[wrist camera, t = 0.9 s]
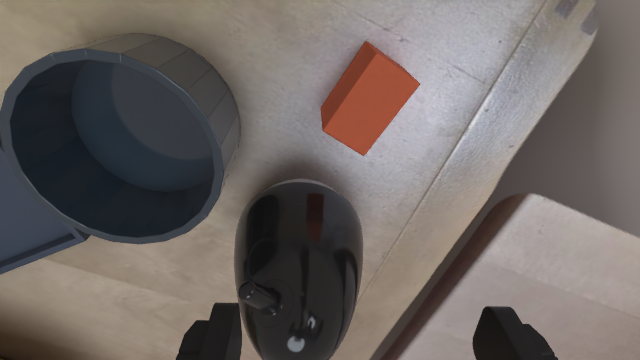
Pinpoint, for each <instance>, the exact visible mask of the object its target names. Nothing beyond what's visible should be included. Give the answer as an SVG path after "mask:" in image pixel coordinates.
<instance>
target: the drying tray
mask: <svg viewBox="0 0 640 360" xmlns="http://www.w3.org/2000/svg"><path fill="white" fill-rule="evenodd" d="M89 236H90V234H86V233H84V232H82V231H80V230H78V229H76V228H74V227H73V226H71V225H69V224H67V223H65V222H63V221H62V220H60V219H58V218H56V217H55V216H54V215H53V214H52V213H50V212H49V211H48V210H47V209H46V208H44V207H43V206H42V205H41V204H40V203H38V202H37V201H36V200H35V199H34V198H33V197H32V196H31V195H30V193H29V192H28V191H27V190H26V188H25V187H24V186H23V184H22V183H21V182H20V181H19V179H18V178H17V177H16V175H15V173H14V172H13V170H12V167H11V165H10V163H9V160H8V158H7V156H6V154H5V151H4V149H3V146H2V140H1V131H0V274H2V273H5V272H8V271H10V270H13V269H15V268H18V267H20V266H23V265H25V264H28V263H30V262H33V261H36V260H38V259H41V258H43V257H46V256H48V255H51V254H53V253H56V252H58V251H61V250H63V249H66V248H69V247H71V246H74V245H76V244H79V243H81V242H84V241H86V240H87V239H88V238H89Z"/></svg>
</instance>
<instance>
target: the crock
mask: <svg viewBox="0 0 640 360" xmlns="http://www.w3.org/2000/svg"><path fill="white" fill-rule="evenodd" d="M240 130H241V126H240V117H239V112H238V109H237V105H236V102H235V100H234V97H233V95H232V93H231V91H230V89H229V87H228V86H227V84H226V83H225V81H224V80H223V78H222V77H221V75H220V74H219V73H218V72H217V71H216V70H215V69H214V68H213V66H212V65H211V64H210V63H208V62H207V61H206V60H205V59H204V58H203V57H202V56H200V55H199V54H197V53H196V52H194V51H193V50H191V49H190V48H188V47H186V46H184V45H182V44H180V43H178V42H176V41H173V40H171V39H168V38H165V37H161V36H157V35H152V34H144V33H129V34H123V35H117V36H111V37H106V38H103V39H99V40H95V41H92V42H88V43H85V44H81V45H78V46H74V47H71V48H67V49H64V50H60V51H57V52H53V53H50V54H48V55H46V56H45V57H43V58H41V59H39V60H37V61H35V62H33V63H32V64H30V65H28V66H26V67H25V68H23V70H22V71H21V72H20V73H19V75H18V76H17V77H16V78H15V80H14V81H13V82H12V83H11V85H10V86H9V87H8V88H7V90H6V92H5V96H4V100H3V103H2V107H1V111H0V131H1V140H2V146H3V149H4V151H5V154H6V156H7V158H8V160H9V163H10V165H11V167H12V170H13V172H14V173H15V175H16V177H17V178H18V179H19V181H20V182H21V183H22V184H23V186H24V187H25V188H26V190H27V191H28V192H29V193H30V195H31V196H32V197H33V198H34V199H35V200H36V201H37V202H38V203H40V204H41V205H42V206H43V207H44V208H46V209H47V210H48V211H49V212H50V213H52V214H53V215H54V216H55V217H56V218H58V219H60V220H62V221H63V222H65V223H67V224H69V225H71V226H73V227H74V228H76V229H78V230H80V231H82V232H84V233H86V234H90V235H93V236H96V237H99V238H102V239H105V240H109V241H113V242H121V243H131V244H147V243H155V242H163V241H167V240H170V239H172V238H175V237H177V236H180V235H182V234H185V233H187V232H189V231H190V230H192V229H193V228H194V227H195V226H197V225H198V224H199V223H200V222H201V221H203V220H204V219H205V218H206V217H207V216H208V215H209V213H210V211H211V210H212V208H213V206H214V205H215V203H216V202H217V200H218V198H219V196H220V194H221V191H222V189H223V186H224V184H225V182H226V179H227V177H228V174H229V172H230V169H231V167H232V165H233V162H234V160H235V157H236V154H237V150H238V147H239V141H240Z"/></svg>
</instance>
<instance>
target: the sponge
mask: <svg viewBox="0 0 640 360" xmlns="http://www.w3.org/2000/svg"><path fill="white" fill-rule="evenodd" d="M419 85H420V83H419V82H418V81H417V80H416V79H415V78H414V77H412V76H411V75H410V74H409V73H408V72H407V71H406V70H405V69H404V68H403V67H402V66H400V65H399V64H397V63H396V62H395V61H393V60H392V59H391V58H389V57H388V56H386V55H385V54H384V53H382V52H381V51H379V50H378V49H377V48H375V47H374V46H373V45H371V44H370V43H368V42H367V41H366V42H365V43H364V44H363V46H362V47H361V49H360V50H359V52H358V53H357V55H356V56H355V58H354V59H353V61H352V62H351V64H350V65H349V67H348V68H347V69H346V71H345V72H344V74H343V75H342V77H341V78H340V80H339V81H338V83H337V84H336V86H335V87H334V89H333V90H332V92H331V93H330V95H329V96H328V98H327V99H326V101H325V102H324V104H323V105H322V106H321V118H322V129H323V131H324V132H325V133H327V134H329V135H330V136H332V137H333V138H335V139H337V140H338V141H340V142H342V143H343V144H345V145H347V146H348V147H350V148H351V149H353V150H355V151H356V152H358V153H360V154H361V155H363V156H364V155H365V154H366V153H367V152H368V150H369V149H370V148H371V147H372V145H373V144H374V143H375V141H376V140H377V139H378V138H379V136H380V135H381V134H382V132H383V131H384V130H385V129H386V127H387V126H388V125H389V123H390V122H391V121H392V120H393V118H394V117H395V116H396V115H397V113H398V112H399V111H400V109H401V108H402V107H403V106H404V104H405V103H406V102H407V100H408V99H409V98H410V97H411V95H412V94H413V93H414V91H415V90H416V89H417V88H418V86H419Z"/></svg>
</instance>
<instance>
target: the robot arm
mask: <svg viewBox="0 0 640 360" xmlns="http://www.w3.org/2000/svg"><path fill="white" fill-rule="evenodd" d="M241 346H242V330H241V319H240V307H239V303H215V304H214V306H213V309H212V312H211V316H210V319H209V321H207V320H196V321H195V323H194V324H193V325H192V326H191V327H190V329H189V330H188V331H187V332H186V333H185V335H184V337H183V340H182V343H181V346H180V349H179V354H178V355H177V357H176V360H240V355H241ZM473 350H474V354H475V357H476V359H477V360H558V358H557V357H555V356H554V352H553V351H552V349H551V348H550V346H549V345H548V343H547V342H546V340H545V339H544V337H543V336H541V335H540V334H539V333H538V332H537V331H536V330H535V329H534V328H533V327H531V326H530V325H529V324H522V322H521V321H520V319H519V317H518V316H517V314H516V313H515V311H514V310H513V309H512V308H511V307H492V306H487V307H485V308H484V309H483V311H482V314H481V317H480V320H479V322H478V325H477V328H476V331H475V333H474V336H473Z"/></svg>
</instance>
